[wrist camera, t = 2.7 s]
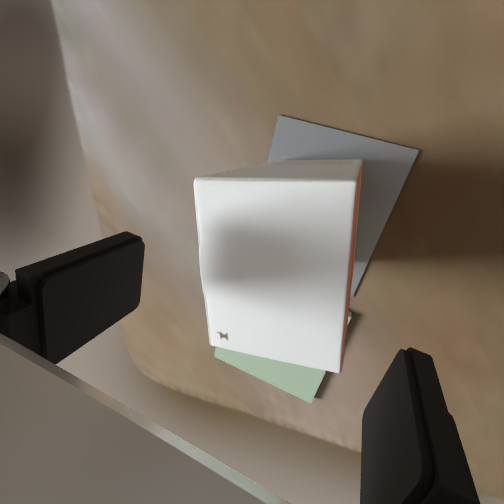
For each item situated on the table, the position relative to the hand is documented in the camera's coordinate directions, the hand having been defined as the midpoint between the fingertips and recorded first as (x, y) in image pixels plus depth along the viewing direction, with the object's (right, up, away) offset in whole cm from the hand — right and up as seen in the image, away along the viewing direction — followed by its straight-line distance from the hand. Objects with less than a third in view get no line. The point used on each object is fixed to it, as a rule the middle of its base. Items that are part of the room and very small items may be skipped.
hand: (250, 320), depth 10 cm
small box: (+5, +6, +13) cm, 15 cm away
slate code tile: (+5, +6, +13) cm, 15 cm away
